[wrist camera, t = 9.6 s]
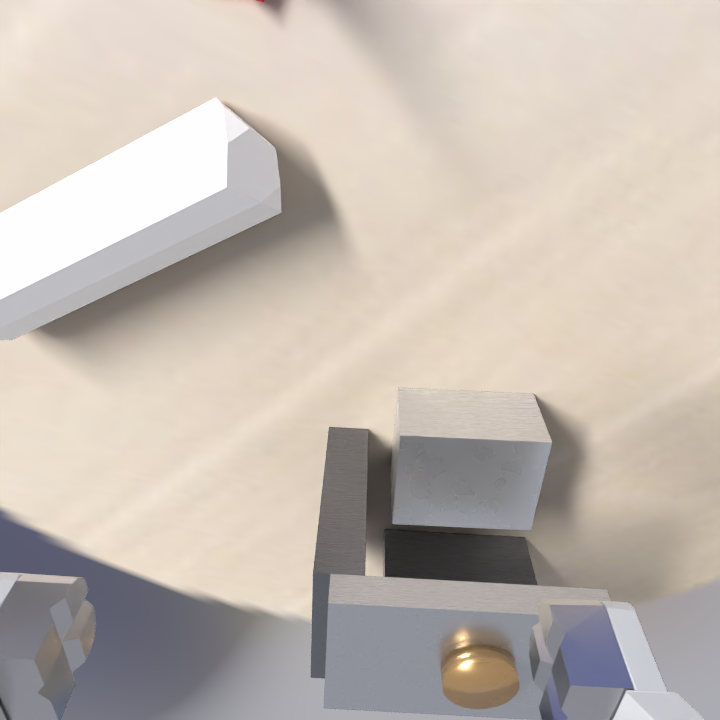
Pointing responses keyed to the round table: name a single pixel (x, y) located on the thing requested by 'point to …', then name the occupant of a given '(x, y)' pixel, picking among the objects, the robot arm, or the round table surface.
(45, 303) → the crystal
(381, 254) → the round table surface
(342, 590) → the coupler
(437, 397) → the brushed aluminum block
